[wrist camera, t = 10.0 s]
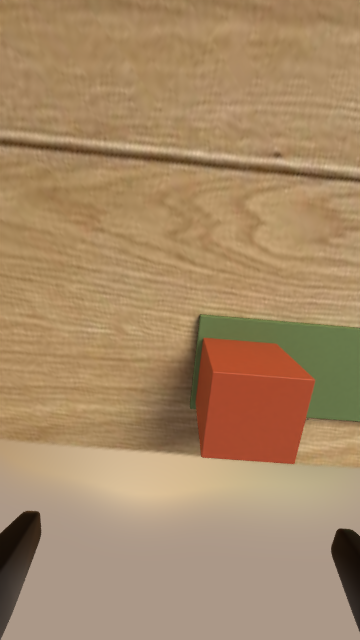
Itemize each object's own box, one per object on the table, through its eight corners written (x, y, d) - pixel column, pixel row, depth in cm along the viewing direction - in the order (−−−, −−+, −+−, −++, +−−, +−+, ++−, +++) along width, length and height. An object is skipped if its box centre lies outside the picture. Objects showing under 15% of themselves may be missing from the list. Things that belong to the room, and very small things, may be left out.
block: (276, 343, 17) (316, 379, 12) (263, 408, 18) (294, 464, 13) (203, 337, 17) (212, 371, 12) (195, 402, 18) (201, 457, 13)
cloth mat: (473, 337, 17) (481, 339, 17) (437, 423, 19) (444, 428, 18) (199, 314, 17) (200, 316, 16) (189, 405, 19) (190, 408, 18)
